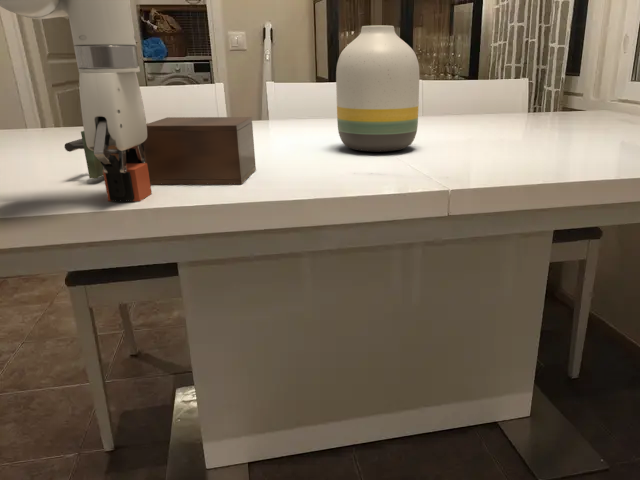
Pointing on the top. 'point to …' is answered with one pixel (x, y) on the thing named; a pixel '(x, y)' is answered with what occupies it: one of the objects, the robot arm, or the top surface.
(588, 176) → the top surface
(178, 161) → the cabinet
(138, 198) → the block
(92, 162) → the drawer
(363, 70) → the vase
